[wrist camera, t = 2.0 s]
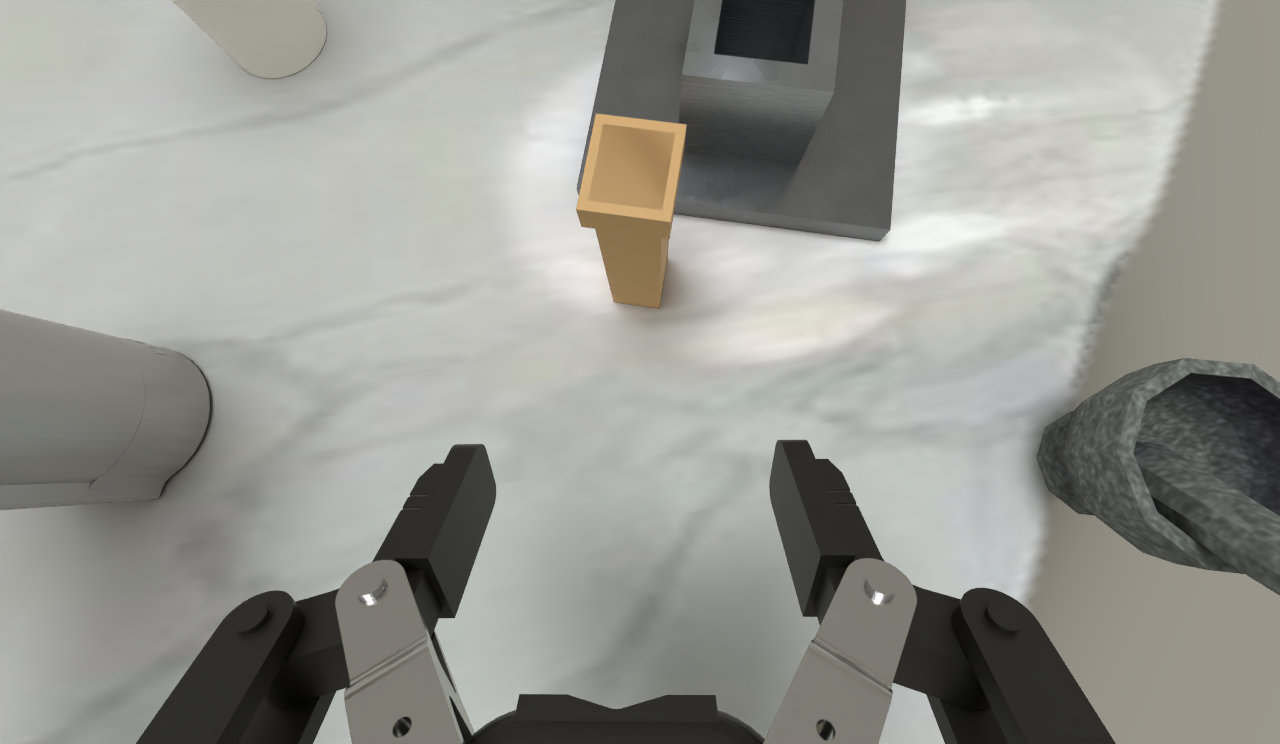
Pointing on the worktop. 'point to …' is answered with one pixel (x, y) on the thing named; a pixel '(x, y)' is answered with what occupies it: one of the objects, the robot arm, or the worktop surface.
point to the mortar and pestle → (1179, 464)
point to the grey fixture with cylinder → (767, 105)
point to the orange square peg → (632, 201)
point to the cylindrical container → (262, 32)
